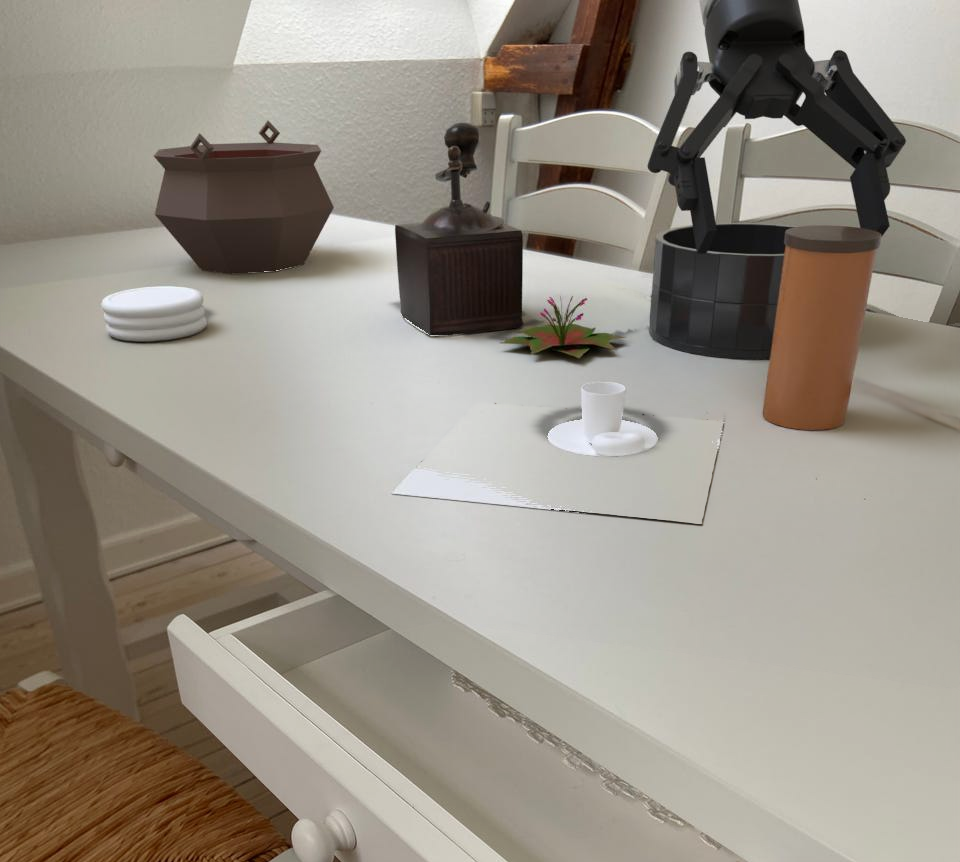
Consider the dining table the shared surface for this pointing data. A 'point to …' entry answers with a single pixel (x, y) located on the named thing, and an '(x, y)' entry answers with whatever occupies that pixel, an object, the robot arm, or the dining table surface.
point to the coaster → (154, 313)
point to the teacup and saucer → (575, 436)
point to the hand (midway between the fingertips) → (792, 240)
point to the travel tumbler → (818, 325)
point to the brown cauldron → (243, 203)
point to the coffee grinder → (460, 258)
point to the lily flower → (562, 334)
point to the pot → (718, 290)
